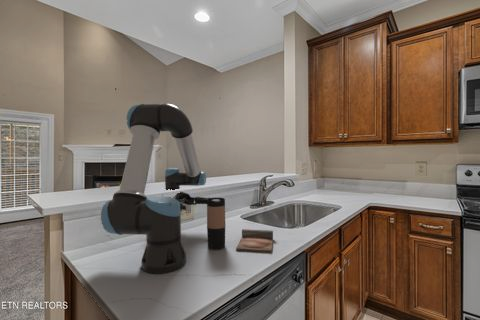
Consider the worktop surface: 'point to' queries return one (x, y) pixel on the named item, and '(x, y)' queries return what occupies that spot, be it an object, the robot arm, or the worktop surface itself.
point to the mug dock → (256, 241)
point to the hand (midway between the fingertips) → (203, 206)
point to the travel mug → (216, 223)
